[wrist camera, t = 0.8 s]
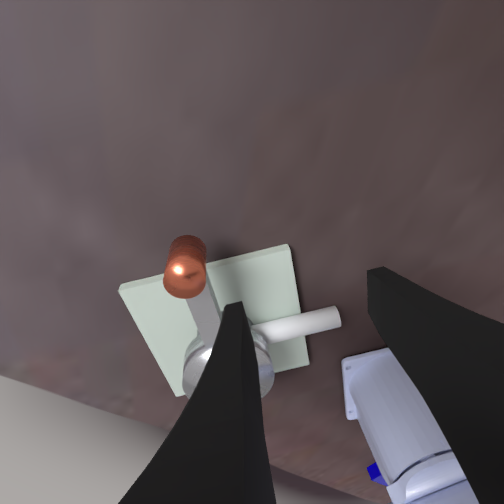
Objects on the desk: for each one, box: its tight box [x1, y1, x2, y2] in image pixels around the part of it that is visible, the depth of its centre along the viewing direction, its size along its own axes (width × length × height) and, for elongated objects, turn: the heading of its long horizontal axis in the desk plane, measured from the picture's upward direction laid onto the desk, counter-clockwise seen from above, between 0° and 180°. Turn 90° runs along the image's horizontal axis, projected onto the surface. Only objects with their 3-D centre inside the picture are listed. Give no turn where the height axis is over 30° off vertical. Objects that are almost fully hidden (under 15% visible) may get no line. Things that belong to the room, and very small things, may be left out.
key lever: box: [163, 235, 274, 399], centre depth 19 cm, size 13×6×3 cm, turn 12°
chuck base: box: [118, 244, 341, 397], centre depth 23 cm, size 12×14×3 cm
